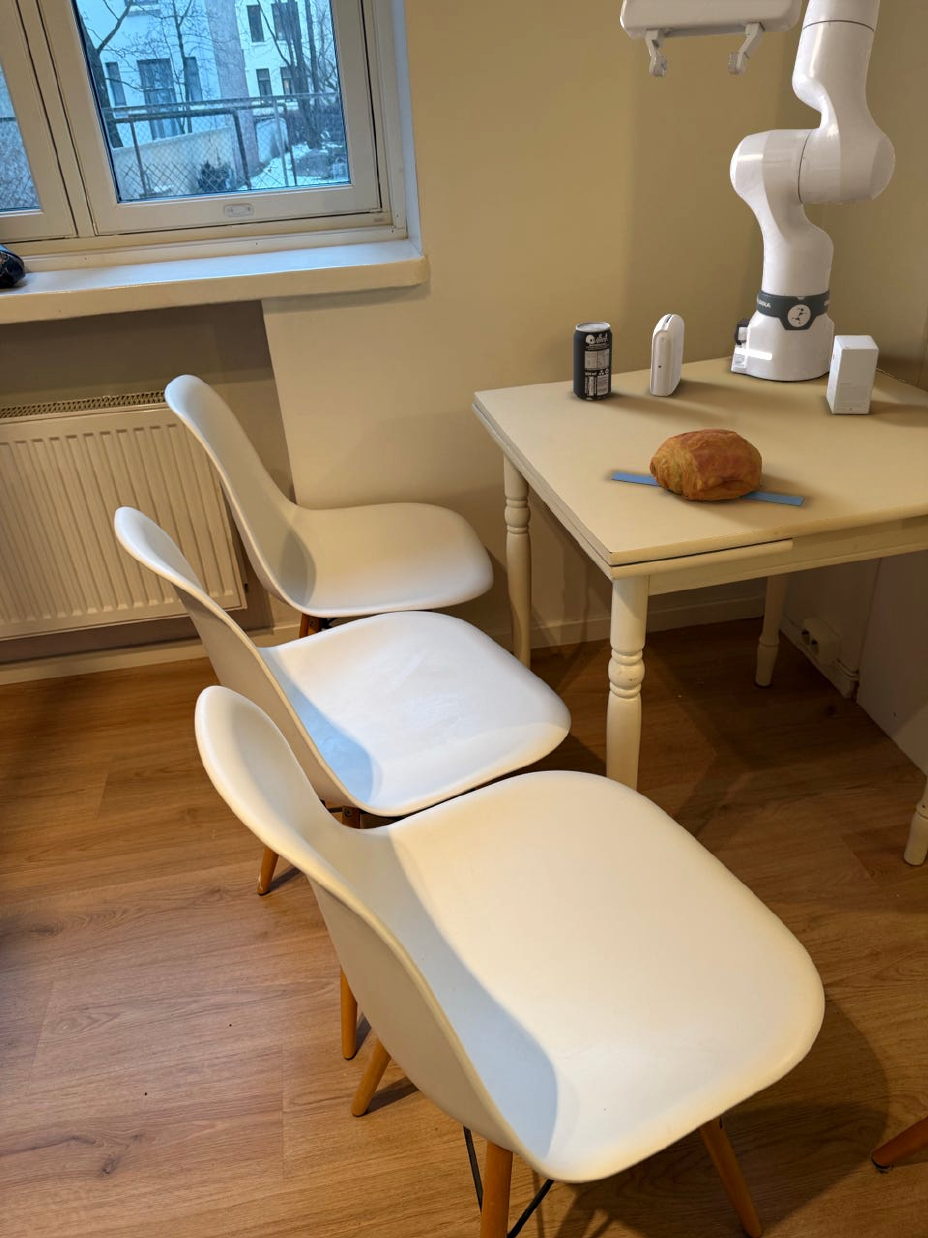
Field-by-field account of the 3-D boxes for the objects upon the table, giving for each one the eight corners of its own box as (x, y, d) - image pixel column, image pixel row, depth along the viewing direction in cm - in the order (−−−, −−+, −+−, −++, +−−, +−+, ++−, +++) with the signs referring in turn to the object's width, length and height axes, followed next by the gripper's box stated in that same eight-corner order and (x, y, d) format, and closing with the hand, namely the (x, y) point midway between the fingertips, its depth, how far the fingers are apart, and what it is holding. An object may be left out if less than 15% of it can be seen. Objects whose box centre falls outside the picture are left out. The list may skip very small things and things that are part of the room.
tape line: (617, 472, 135) (617, 472, 135) (803, 498, 125) (803, 497, 125) (611, 479, 134) (611, 478, 133) (800, 505, 123) (800, 505, 123)
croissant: (643, 481, 137) (637, 429, 133) (748, 459, 137) (746, 406, 133) (668, 521, 125) (663, 465, 121) (784, 496, 124) (783, 440, 120)
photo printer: (671, 397, 161) (676, 324, 155) (647, 395, 163) (650, 323, 156) (683, 379, 169) (687, 309, 163) (659, 377, 171) (663, 308, 164)
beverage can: (584, 386, 169) (585, 319, 162) (617, 391, 165) (619, 322, 159) (566, 397, 164) (566, 328, 158) (599, 403, 161) (600, 332, 155)
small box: (868, 414, 149) (880, 348, 143) (831, 414, 150) (841, 348, 144) (860, 398, 156) (871, 334, 150) (825, 397, 157) (835, 334, 151)
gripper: (823, -55, 102) (793, 82, 105) (648, -37, 112) (624, 88, 115) (811, -88, 96) (780, 58, 99) (628, -66, 106) (604, 66, 109)
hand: (695, 74), depth 107 cm, fingers open, 8 cm apart
